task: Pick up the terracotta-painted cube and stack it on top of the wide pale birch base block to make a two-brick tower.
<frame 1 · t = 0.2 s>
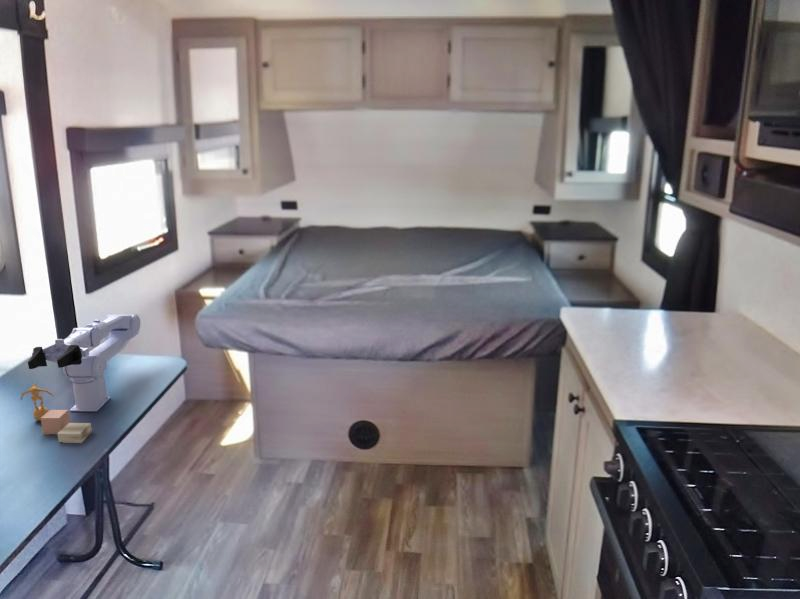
hand: (44, 364, 164), 21 cm above the table, tool horizontal, fingers open, 7 cm apart
birch base block: (75, 438, 170), on the table
terracotta cube: (57, 430, 174), on the table
figurine: (41, 422, 179), on the table
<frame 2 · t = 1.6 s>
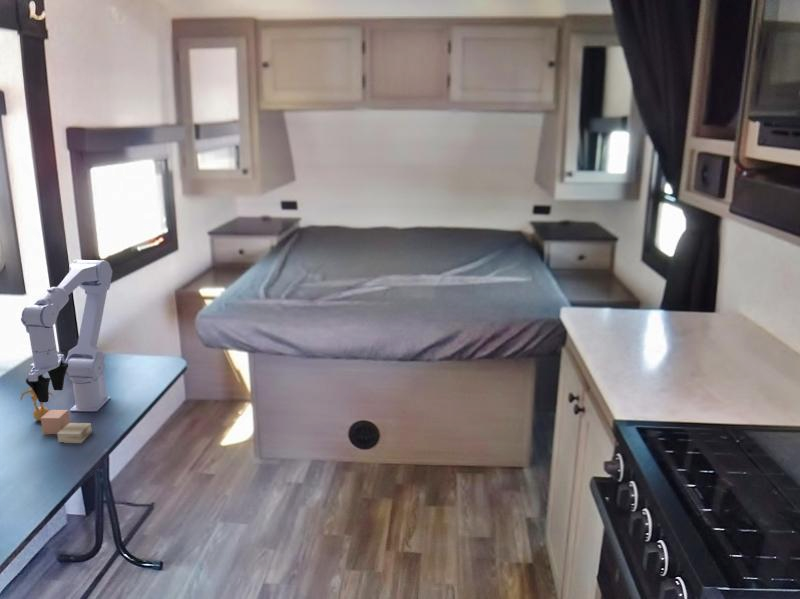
hand: (51, 395, 171), 10 cm above the table, tool pointing down, fingers open, 7 cm apart
nothing on the table moved.
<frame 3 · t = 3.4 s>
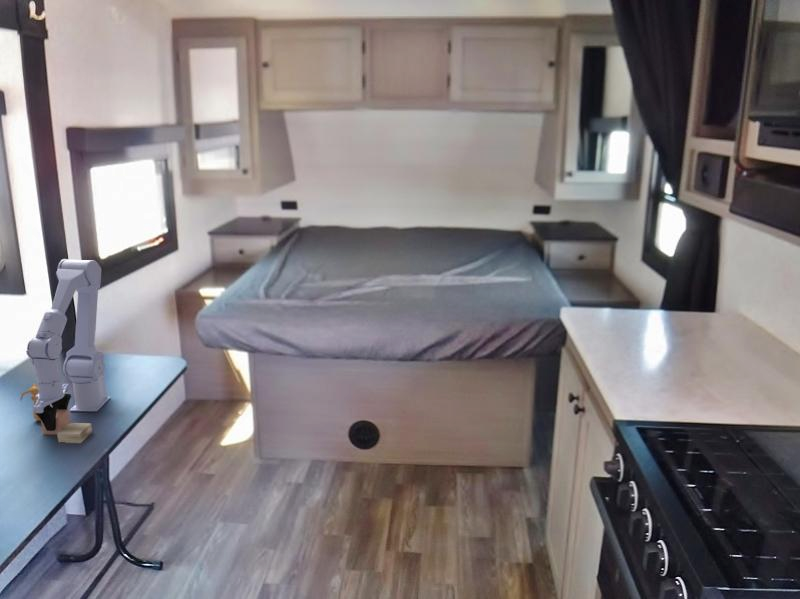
hand: (56, 425, 174), 1 cm above the table, tool pointing down, fingers closed on terracotta cube, 5 cm apart
terracotta cube: (57, 430, 174), on the table, touching gripper
everything else where it was.
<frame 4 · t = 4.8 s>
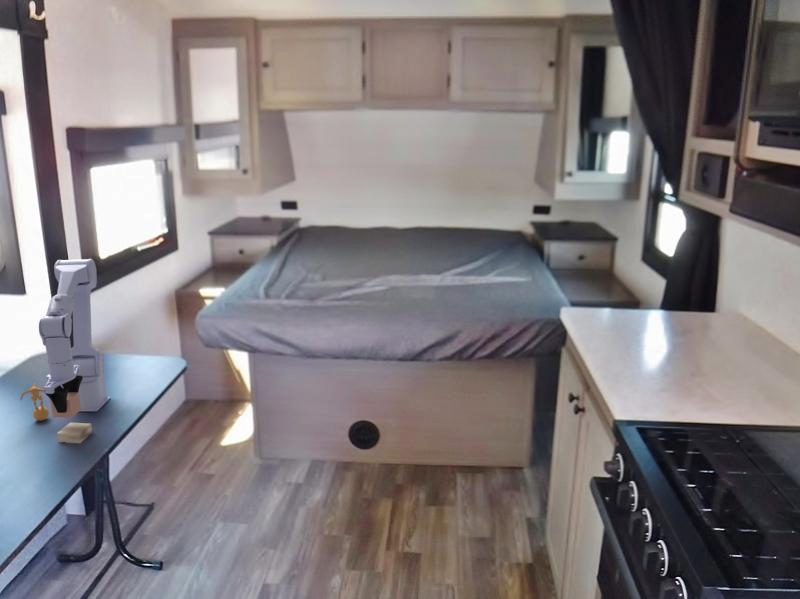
hand: (67, 407, 168), 9 cm above the table, tool pointing down, fingers closed on terracotta cube, 5 cm apart
terracotta cube: (67, 413, 169), point 7 cm above the table, touching gripper
everything else where it was.
when the fingers open (5 cm above the table, at t = 6.3 s): terracotta cube drops 1 cm, resting on birch base block.
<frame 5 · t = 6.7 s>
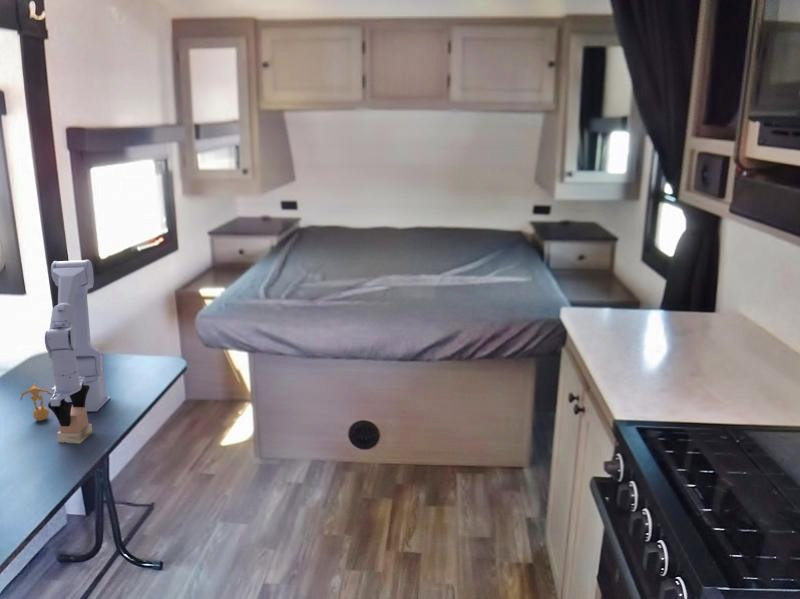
hand: (72, 419, 169), 5 cm above the table, tool pointing down, fingers open, 7 cm apart
birch base block: (75, 438, 170), on the table, touching terracotta cube
terracotta cube: (74, 428, 170), point 3 cm above the table, touching birch base block
everything else where it was.
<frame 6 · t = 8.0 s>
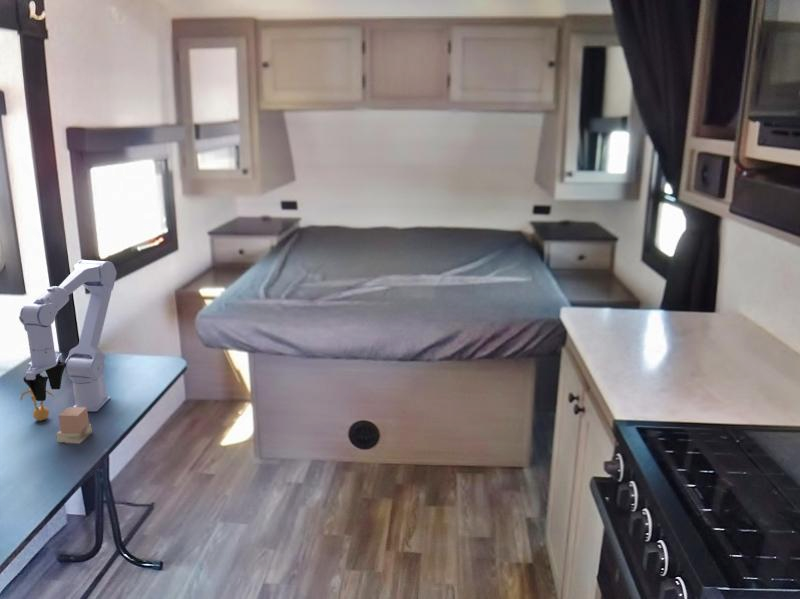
hand: (48, 394, 172), 10 cm above the table, tool pointing down, fingers open, 7 cm apart
birch base block: (75, 438, 170), on the table
terracotta cube: (75, 428, 169), point 3 cm above the table
everything else where it was.
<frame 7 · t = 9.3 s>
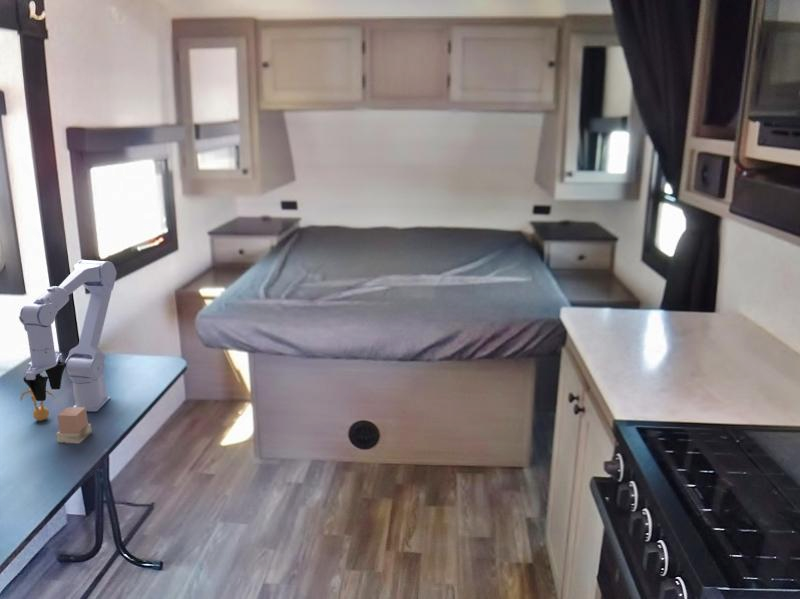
hand: (48, 394, 172), 10 cm above the table, tool pointing down, fingers open, 7 cm apart
nothing on the table moved.
at the end: terracotta cube 0.2 cm off-centre on the birch base block, point 3.0 cm above the birch base block's base; terracotta cube tilted 0°; the gripper is holding nothing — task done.
